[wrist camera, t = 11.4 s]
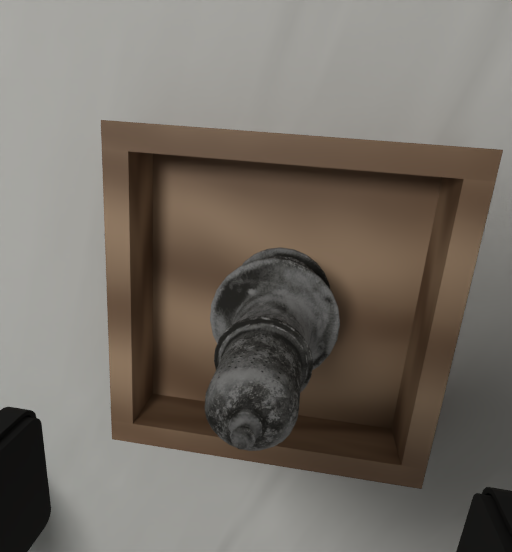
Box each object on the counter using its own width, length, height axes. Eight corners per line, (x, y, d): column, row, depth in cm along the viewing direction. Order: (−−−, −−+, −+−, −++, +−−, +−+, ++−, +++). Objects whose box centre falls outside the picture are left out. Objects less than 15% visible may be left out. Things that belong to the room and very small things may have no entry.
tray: (134, 124, 21) (101, 120, 18) (471, 149, 20) (503, 149, 16) (137, 402, 26) (112, 439, 23) (407, 442, 24) (421, 488, 21)
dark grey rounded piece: (335, 349, 23) (351, 548, 11) (228, 344, 24) (143, 525, 12) (338, 242, 21) (361, 350, 10) (223, 241, 22) (120, 339, 10)
